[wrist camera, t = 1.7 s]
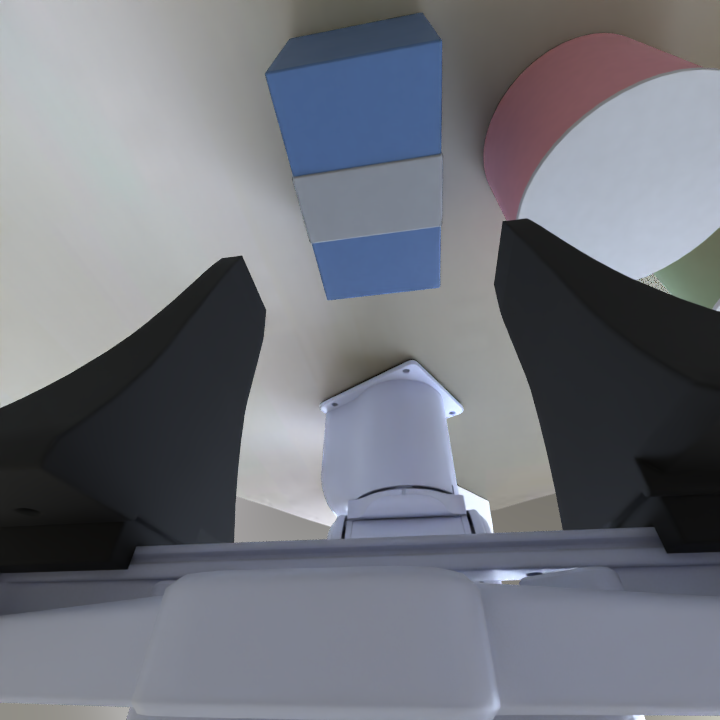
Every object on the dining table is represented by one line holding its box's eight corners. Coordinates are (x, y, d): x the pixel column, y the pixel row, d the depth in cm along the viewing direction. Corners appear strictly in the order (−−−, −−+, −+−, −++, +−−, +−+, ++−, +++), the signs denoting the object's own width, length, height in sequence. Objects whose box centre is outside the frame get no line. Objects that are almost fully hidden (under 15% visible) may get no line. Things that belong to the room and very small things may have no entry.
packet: (428, 225, 20) (441, 289, 16) (332, 238, 20) (326, 302, 17) (424, 11, 14) (444, 38, 10) (287, 39, 14) (261, 73, 11)
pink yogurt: (516, 240, 20) (554, 318, 16) (452, 121, 16) (481, 186, 12) (672, 150, 17) (771, 220, 13) (642, -28, 13) (773, -10, 9)
